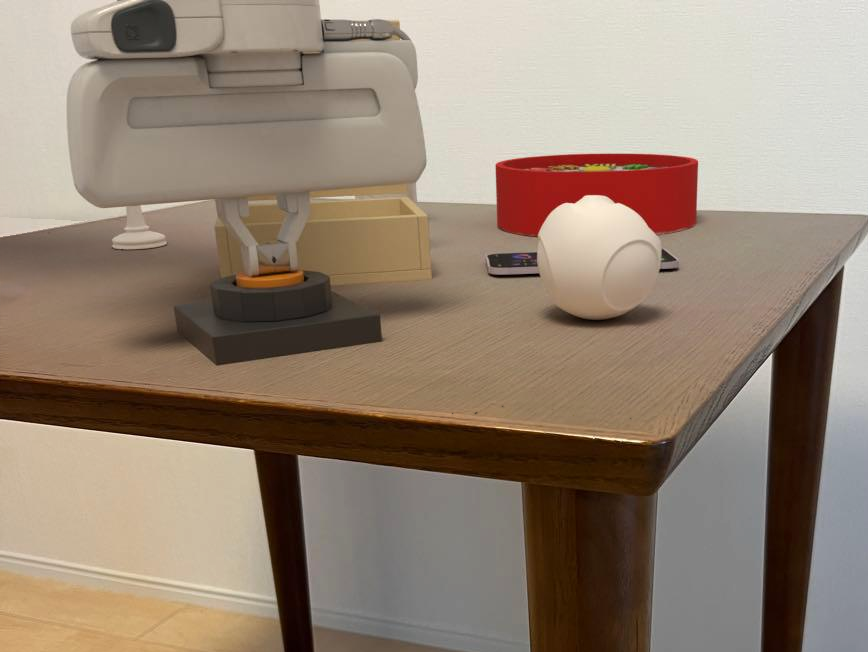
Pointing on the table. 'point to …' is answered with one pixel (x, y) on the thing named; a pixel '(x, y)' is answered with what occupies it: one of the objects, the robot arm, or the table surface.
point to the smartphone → (528, 264)
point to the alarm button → (269, 279)
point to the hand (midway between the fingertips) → (271, 273)
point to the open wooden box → (344, 240)
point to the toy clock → (597, 188)
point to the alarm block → (274, 320)
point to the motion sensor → (597, 257)
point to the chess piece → (137, 233)
